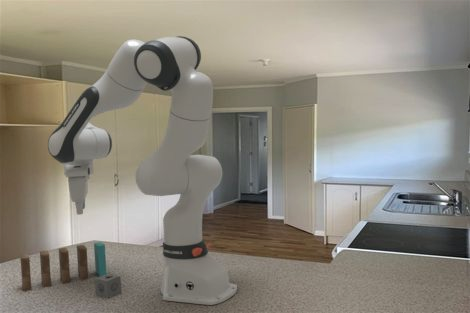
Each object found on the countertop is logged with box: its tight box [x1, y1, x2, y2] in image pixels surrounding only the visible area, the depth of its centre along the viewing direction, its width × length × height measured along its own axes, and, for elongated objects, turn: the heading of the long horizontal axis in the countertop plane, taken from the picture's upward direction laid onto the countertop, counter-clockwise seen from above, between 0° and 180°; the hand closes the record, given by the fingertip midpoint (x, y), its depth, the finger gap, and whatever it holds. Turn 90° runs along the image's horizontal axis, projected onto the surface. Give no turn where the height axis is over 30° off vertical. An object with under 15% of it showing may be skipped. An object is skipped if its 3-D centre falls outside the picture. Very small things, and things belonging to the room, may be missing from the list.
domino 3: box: [58, 247, 71, 284], centre depth 130 cm, size 2×5×10 cm, turn 30°
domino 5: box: [93, 241, 107, 277], centre depth 136 cm, size 2×5×10 cm, turn 34°
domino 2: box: [39, 250, 52, 288], centre depth 128 cm, size 2×5×10 cm, turn 31°
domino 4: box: [76, 244, 89, 281], centre depth 133 cm, size 2×5×10 cm, turn 30°
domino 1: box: [19, 253, 32, 292], centre depth 125 cm, size 2×5×10 cm, turn 30°
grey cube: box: [94, 272, 122, 300], centre depth 118 cm, size 5×5×5 cm
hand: (81, 211), depth 133 cm, fingers open, 8 cm apart
